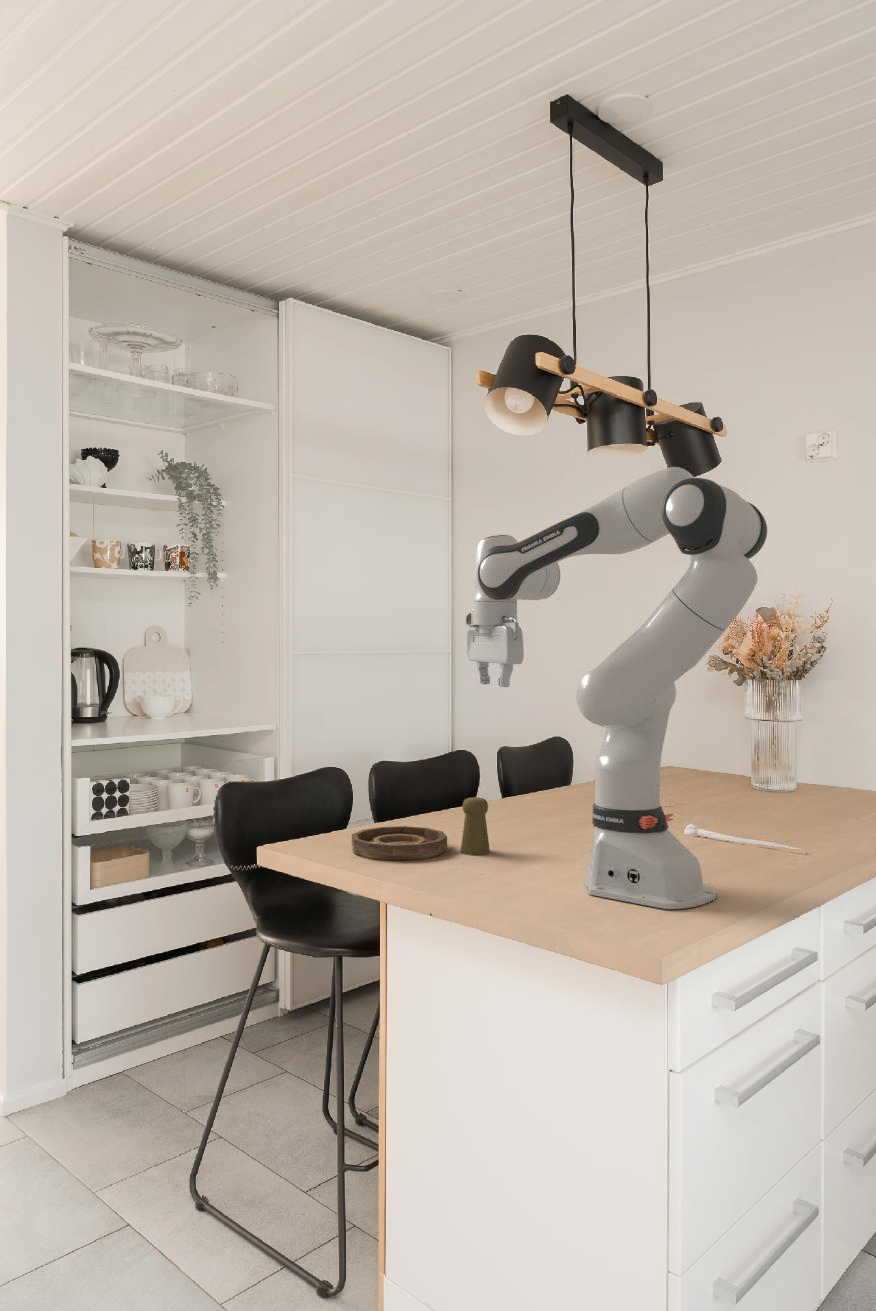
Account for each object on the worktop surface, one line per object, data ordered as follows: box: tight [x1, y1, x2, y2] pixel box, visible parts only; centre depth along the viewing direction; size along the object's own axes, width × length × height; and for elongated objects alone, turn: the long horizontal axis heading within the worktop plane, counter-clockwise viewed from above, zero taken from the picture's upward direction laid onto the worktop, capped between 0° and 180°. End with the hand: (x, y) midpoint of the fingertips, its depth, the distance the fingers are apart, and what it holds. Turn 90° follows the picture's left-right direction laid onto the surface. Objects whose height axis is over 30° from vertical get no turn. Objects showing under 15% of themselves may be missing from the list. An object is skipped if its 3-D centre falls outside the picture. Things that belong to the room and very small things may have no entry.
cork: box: [460, 796, 491, 856], centre depth 191 cm, size 6×6×11 cm
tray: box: [351, 825, 448, 862], centre depth 192 cm, size 19×19×3 cm
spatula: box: [683, 823, 803, 850], centre depth 200 cm, size 28×4×3 cm, turn 45°
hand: (494, 685), depth 189 cm, fingers open, 8 cm apart
